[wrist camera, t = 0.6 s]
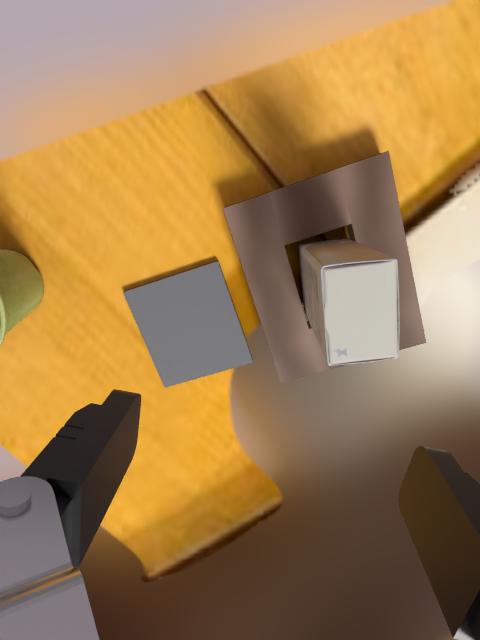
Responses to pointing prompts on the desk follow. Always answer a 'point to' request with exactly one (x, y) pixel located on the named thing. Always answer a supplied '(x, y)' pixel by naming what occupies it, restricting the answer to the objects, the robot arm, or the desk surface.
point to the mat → (189, 324)
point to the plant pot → (17, 289)
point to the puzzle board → (309, 220)
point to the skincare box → (351, 300)
